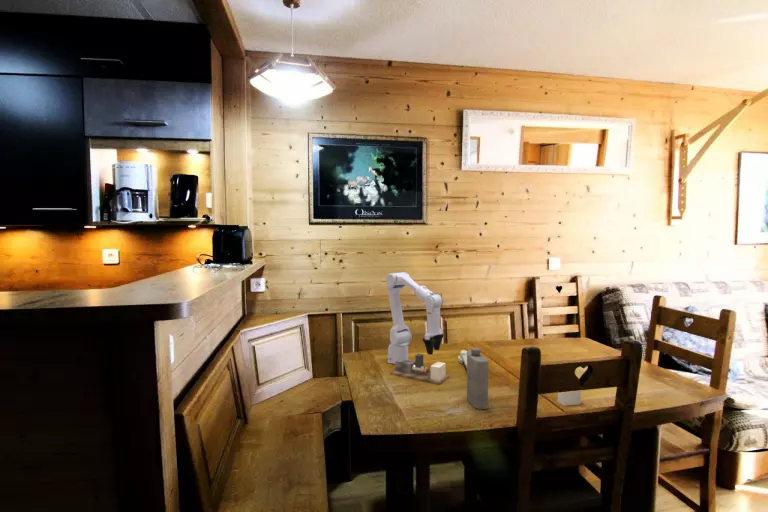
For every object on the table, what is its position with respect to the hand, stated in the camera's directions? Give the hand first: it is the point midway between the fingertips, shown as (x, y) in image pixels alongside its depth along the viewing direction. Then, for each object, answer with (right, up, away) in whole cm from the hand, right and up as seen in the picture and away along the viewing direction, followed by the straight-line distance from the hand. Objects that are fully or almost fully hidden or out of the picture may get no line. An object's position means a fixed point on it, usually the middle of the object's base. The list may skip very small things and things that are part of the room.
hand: (433, 352), depth 175 cm
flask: (+12, -12, -28) cm, 33 cm away
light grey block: (+46, -12, -30) cm, 56 cm away
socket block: (+1, -11, -6) cm, 12 cm away
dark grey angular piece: (-9, -9, 0) cm, 12 cm away
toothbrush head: (+17, -10, +7) cm, 21 cm away
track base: (-6, -10, -1) cm, 12 cm away
